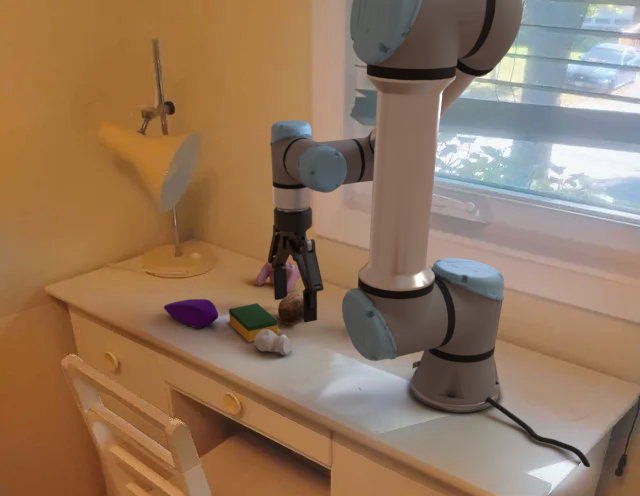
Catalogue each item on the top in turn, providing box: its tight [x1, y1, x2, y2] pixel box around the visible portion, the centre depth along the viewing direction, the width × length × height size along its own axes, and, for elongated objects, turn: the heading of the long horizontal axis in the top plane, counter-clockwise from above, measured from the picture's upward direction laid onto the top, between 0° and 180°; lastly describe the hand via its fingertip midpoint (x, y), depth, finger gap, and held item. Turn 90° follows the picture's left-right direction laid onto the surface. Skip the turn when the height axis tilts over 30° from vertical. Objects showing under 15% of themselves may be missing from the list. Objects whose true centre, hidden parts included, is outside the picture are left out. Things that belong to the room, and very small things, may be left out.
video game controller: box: [255, 260, 301, 294], centre depth 166 cm, size 10×5×7 cm, turn 58°
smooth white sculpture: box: [254, 329, 292, 356], centre depth 138 cm, size 4×8×5 cm
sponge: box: [228, 302, 279, 343], centre depth 146 cm, size 10×6×3 cm, turn 29°
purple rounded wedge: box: [163, 298, 219, 329], centre depth 149 cm, size 5×5×15 cm
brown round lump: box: [277, 293, 304, 325], centre depth 150 cm, size 8×8×6 cm
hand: (295, 309), depth 149 cm, fingers open, 13 cm apart
